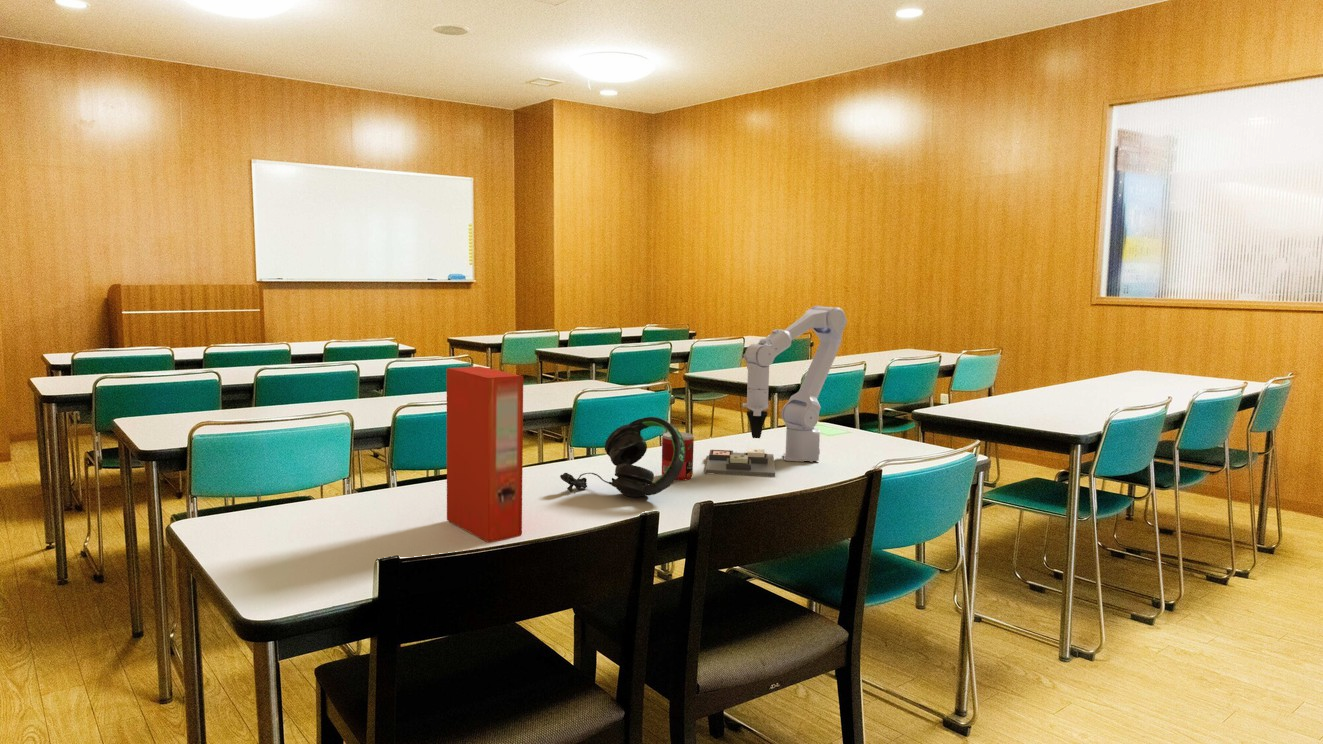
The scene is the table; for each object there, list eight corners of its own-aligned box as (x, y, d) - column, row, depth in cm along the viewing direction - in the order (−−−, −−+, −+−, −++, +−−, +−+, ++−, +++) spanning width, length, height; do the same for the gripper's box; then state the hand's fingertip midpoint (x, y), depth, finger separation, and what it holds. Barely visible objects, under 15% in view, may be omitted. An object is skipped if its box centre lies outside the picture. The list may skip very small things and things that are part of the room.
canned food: (692, 481, 214) (694, 438, 213) (661, 480, 214) (661, 437, 213) (692, 473, 222) (693, 432, 220) (661, 473, 222) (662, 431, 221)
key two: (747, 459, 228) (747, 454, 228) (747, 463, 224) (747, 458, 223) (730, 458, 229) (730, 454, 228) (729, 462, 224) (730, 457, 224)
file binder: (482, 514, 183) (481, 365, 179) (523, 535, 169) (523, 375, 165) (446, 521, 177) (445, 368, 173) (486, 543, 164) (485, 378, 160)
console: (773, 457, 242) (773, 449, 242) (775, 476, 221) (775, 467, 220) (709, 455, 244) (709, 446, 244) (705, 473, 222) (705, 464, 222)
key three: (729, 455, 239) (729, 451, 239) (729, 459, 234) (729, 454, 234) (713, 455, 239) (713, 450, 239) (712, 458, 235) (712, 454, 234)
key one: (764, 453, 236) (764, 449, 235) (764, 457, 231) (764, 452, 231) (747, 453, 236) (747, 448, 236) (747, 456, 232) (747, 452, 231)
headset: (596, 525, 205) (699, 481, 194) (562, 513, 194) (668, 466, 184) (585, 458, 214) (683, 412, 203) (551, 443, 203) (652, 394, 192)
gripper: (743, 384, 239) (741, 431, 241) (742, 391, 225) (741, 442, 226) (768, 385, 238) (767, 432, 240) (769, 392, 224) (767, 443, 226)
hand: (756, 437), depth 233 cm, fingers closed
